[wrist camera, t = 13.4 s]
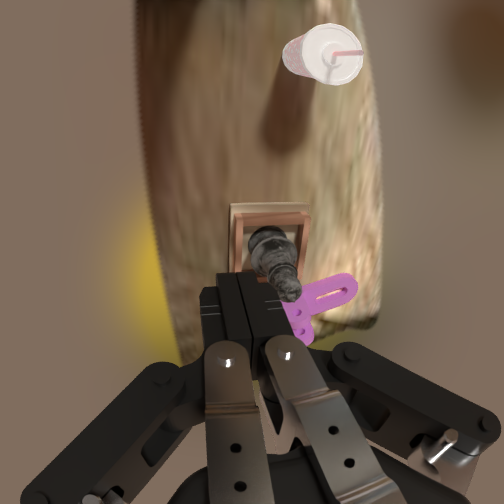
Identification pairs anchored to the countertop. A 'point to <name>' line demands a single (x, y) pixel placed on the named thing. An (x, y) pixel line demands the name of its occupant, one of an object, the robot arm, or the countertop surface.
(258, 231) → the salt shaker
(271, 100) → the countertop surface
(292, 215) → the shaker holder
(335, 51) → the beverage cup
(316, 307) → the bracket
